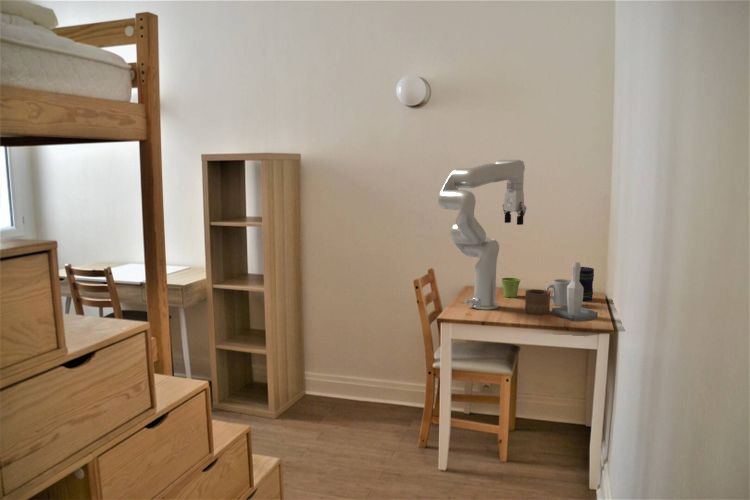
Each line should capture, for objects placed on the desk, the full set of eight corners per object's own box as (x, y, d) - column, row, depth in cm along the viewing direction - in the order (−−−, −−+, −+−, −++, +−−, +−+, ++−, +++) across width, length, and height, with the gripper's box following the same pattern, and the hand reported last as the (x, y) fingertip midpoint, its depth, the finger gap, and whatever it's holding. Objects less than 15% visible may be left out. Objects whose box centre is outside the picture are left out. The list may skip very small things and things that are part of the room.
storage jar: (594, 302, 276) (596, 270, 274) (572, 301, 278) (574, 270, 276) (590, 297, 286) (592, 267, 284) (569, 296, 288) (570, 266, 286)
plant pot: (496, 295, 290) (497, 278, 289) (512, 293, 294) (512, 276, 293) (508, 299, 282) (509, 281, 281) (524, 297, 286) (524, 280, 285)
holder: (534, 315, 252) (535, 295, 250) (520, 310, 261) (521, 290, 259) (553, 313, 255) (554, 293, 254) (539, 308, 264) (540, 288, 263)
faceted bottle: (563, 312, 253) (565, 261, 250) (575, 310, 255) (577, 260, 252) (572, 315, 247) (575, 263, 244) (585, 314, 250) (587, 262, 246)
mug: (567, 302, 276) (569, 279, 275) (574, 306, 268) (575, 282, 266) (542, 302, 276) (543, 279, 274) (548, 306, 268) (549, 283, 266)
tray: (572, 321, 243) (572, 315, 243) (551, 313, 255) (552, 308, 255) (597, 318, 248) (597, 312, 247) (576, 310, 260) (576, 305, 259)
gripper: (497, 186, 281) (496, 222, 284) (519, 187, 265) (518, 225, 268) (510, 186, 284) (509, 221, 286) (533, 187, 268) (531, 225, 271)
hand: (513, 223), depth 277 cm, fingers open, 9 cm apart
